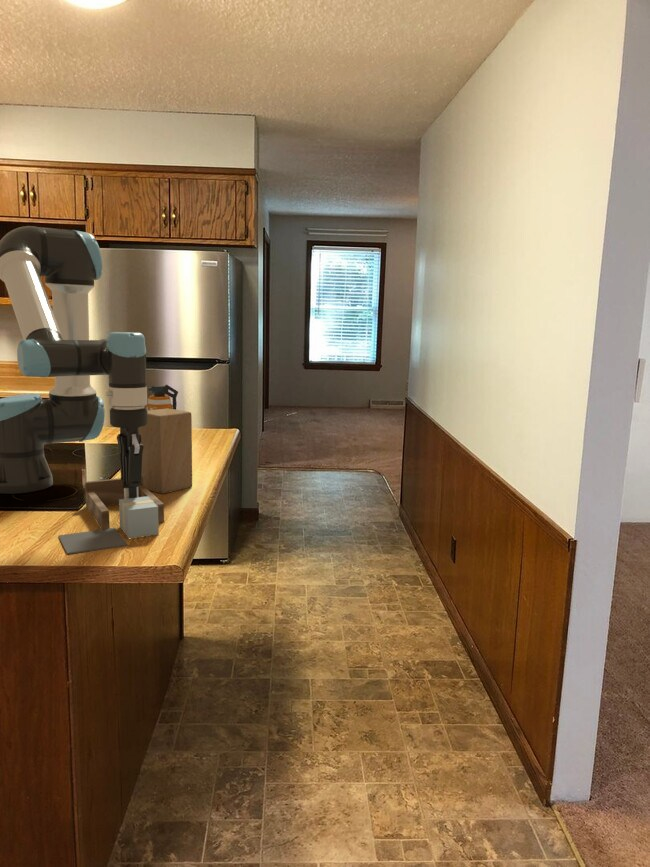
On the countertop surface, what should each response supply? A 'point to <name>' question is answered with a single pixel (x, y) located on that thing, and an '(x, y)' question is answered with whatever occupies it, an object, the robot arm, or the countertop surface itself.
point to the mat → (92, 540)
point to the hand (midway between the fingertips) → (131, 515)
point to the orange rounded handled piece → (161, 398)
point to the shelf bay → (112, 499)
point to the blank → (138, 517)
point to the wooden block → (167, 450)
